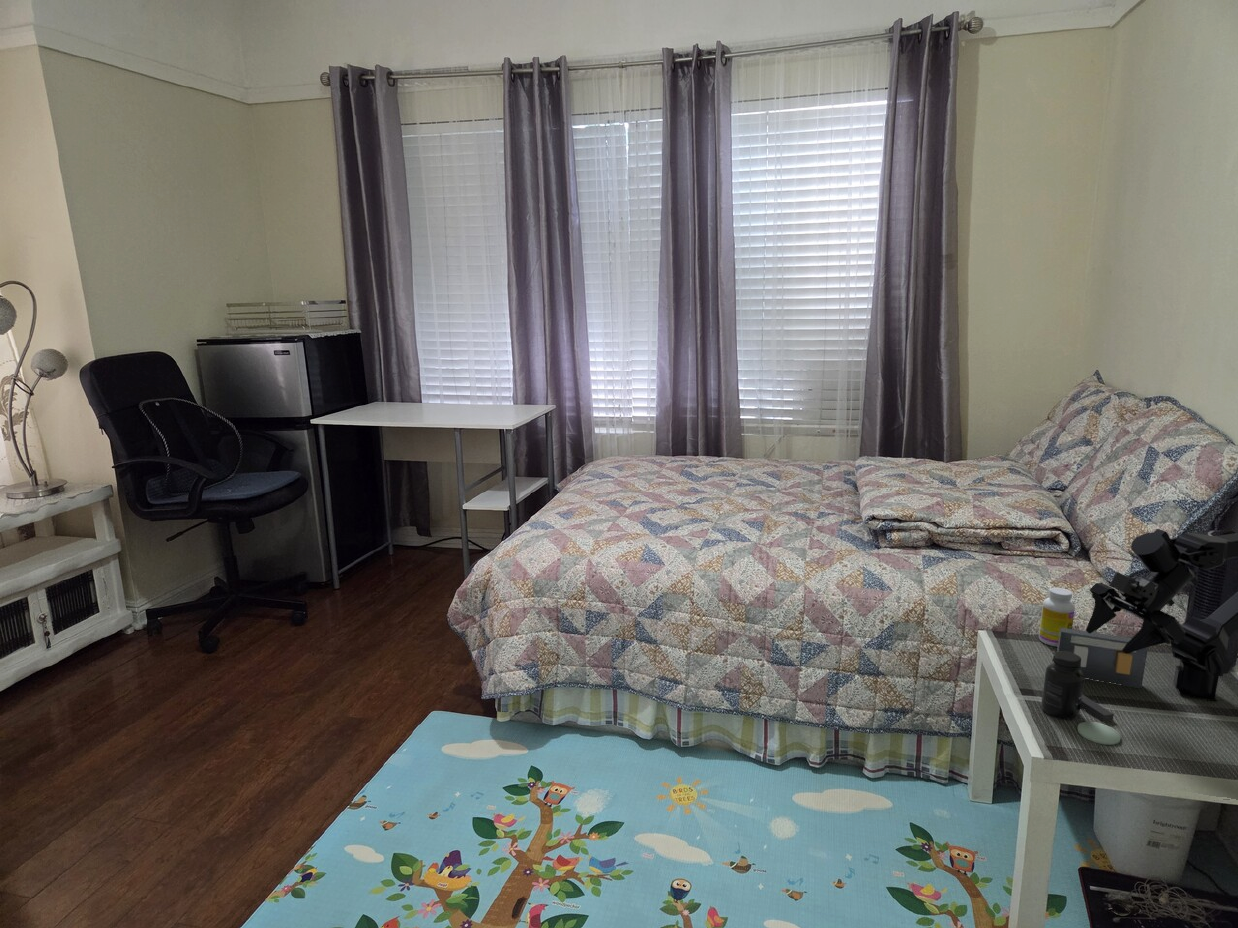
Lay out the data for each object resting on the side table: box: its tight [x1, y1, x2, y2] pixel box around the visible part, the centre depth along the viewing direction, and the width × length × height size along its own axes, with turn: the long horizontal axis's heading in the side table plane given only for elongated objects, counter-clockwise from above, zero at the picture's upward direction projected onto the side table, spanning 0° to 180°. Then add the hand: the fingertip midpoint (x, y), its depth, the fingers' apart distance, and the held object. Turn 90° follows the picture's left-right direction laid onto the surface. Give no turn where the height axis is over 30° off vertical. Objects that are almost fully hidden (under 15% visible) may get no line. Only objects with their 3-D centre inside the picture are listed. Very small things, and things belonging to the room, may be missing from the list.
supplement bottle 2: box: [1040, 650, 1086, 720], centre depth 159 cm, size 7×7×12 cm
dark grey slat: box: [1080, 694, 1115, 723], centre depth 164 cm, size 14×2×2 cm, turn 15°
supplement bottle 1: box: [1038, 587, 1076, 648], centre depth 190 cm, size 7×7×13 cm
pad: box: [1077, 721, 1122, 746], centre depth 153 cm, size 7×7×1 cm
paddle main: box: [1115, 652, 1132, 675], centre depth 169 cm, size 2×1×4 cm, turn 66°
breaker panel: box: [1056, 627, 1149, 689], centre depth 172 cm, size 16×3×10 cm, turn 66°
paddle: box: [1074, 645, 1088, 667], centre depth 172 cm, size 2×1×4 cm, turn 67°
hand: (1105, 641), depth 160 cm, fingers open, 9 cm apart
